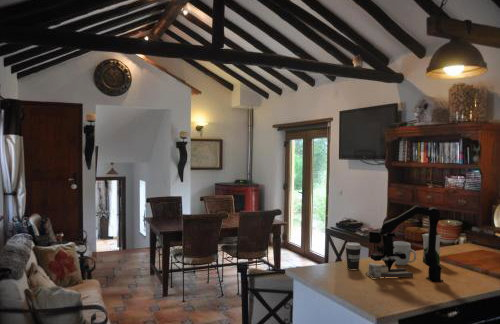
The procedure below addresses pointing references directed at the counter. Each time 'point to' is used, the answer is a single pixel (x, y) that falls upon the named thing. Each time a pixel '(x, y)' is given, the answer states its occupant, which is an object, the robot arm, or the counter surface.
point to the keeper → (383, 269)
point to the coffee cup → (353, 255)
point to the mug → (404, 248)
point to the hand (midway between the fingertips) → (388, 271)
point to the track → (376, 272)
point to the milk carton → (437, 249)
